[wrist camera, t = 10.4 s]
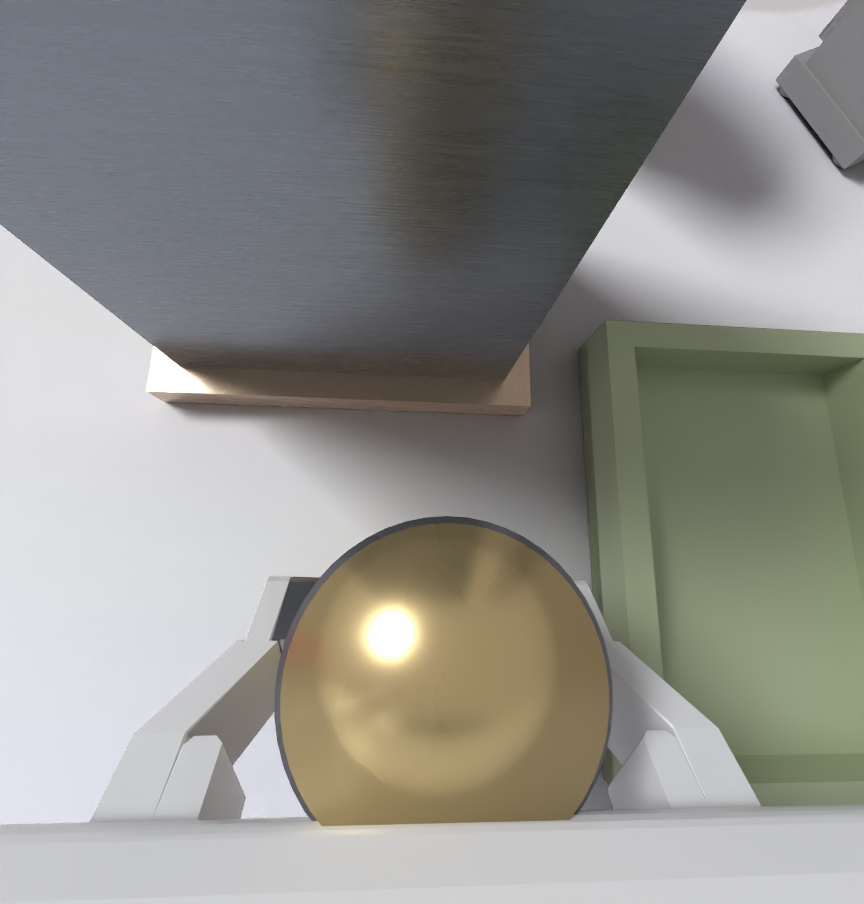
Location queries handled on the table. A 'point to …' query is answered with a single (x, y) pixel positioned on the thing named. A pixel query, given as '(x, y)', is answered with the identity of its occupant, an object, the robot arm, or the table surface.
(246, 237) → the mounted unit
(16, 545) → the table surface
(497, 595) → the cartridge
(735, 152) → the table surface
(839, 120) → the upright grey panel
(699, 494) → the olive tray
